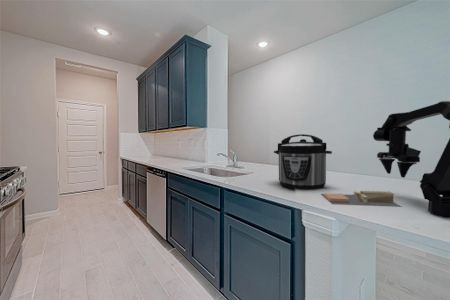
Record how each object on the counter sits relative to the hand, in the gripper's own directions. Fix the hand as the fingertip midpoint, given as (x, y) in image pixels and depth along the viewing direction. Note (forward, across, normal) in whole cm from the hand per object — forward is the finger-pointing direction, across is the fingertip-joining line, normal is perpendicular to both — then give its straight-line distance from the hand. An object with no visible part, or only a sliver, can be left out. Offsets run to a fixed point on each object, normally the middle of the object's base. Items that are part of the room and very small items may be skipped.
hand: (395, 175), depth 91 cm
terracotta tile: (+10, -4, +23) cm, 25 cm away
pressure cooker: (+12, +25, +36) cm, 45 cm away
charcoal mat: (+12, -3, +18) cm, 21 cm away
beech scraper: (+11, -4, +10) cm, 15 cm away
